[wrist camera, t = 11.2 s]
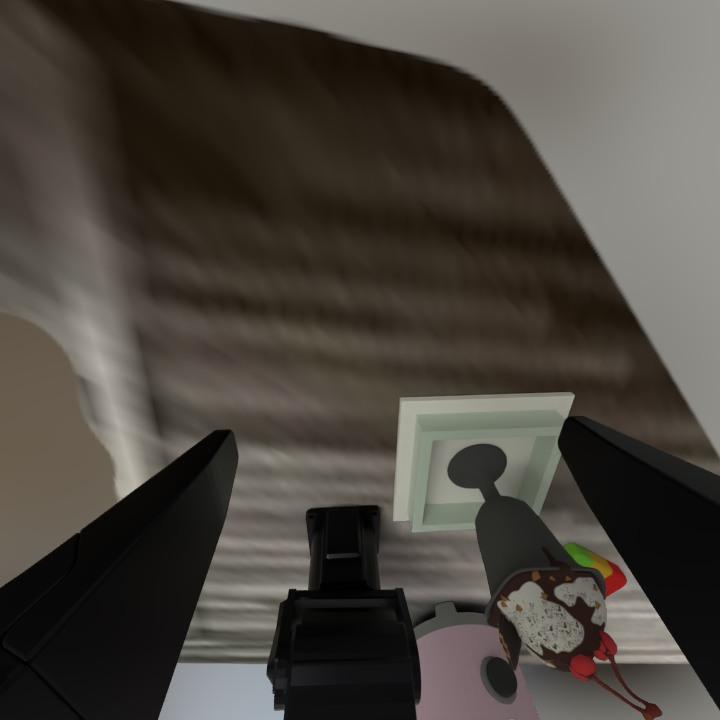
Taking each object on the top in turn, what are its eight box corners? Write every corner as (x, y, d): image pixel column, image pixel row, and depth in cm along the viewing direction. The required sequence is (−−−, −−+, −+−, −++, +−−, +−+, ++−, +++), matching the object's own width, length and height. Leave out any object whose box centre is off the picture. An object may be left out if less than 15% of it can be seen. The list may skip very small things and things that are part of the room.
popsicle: (580, 589, 38) (592, 607, 36) (492, 548, 34) (500, 567, 32) (620, 564, 36) (634, 582, 35) (532, 517, 32) (543, 535, 30)
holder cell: (530, 509, 30) (545, 534, 28) (392, 516, 30) (396, 542, 27) (570, 391, 24) (593, 411, 22) (399, 397, 24) (405, 418, 22)
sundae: (528, 436, 26) (734, 699, 12) (501, 495, 29) (643, 760, 15) (447, 431, 25) (572, 704, 12) (429, 492, 28) (510, 766, 14)
